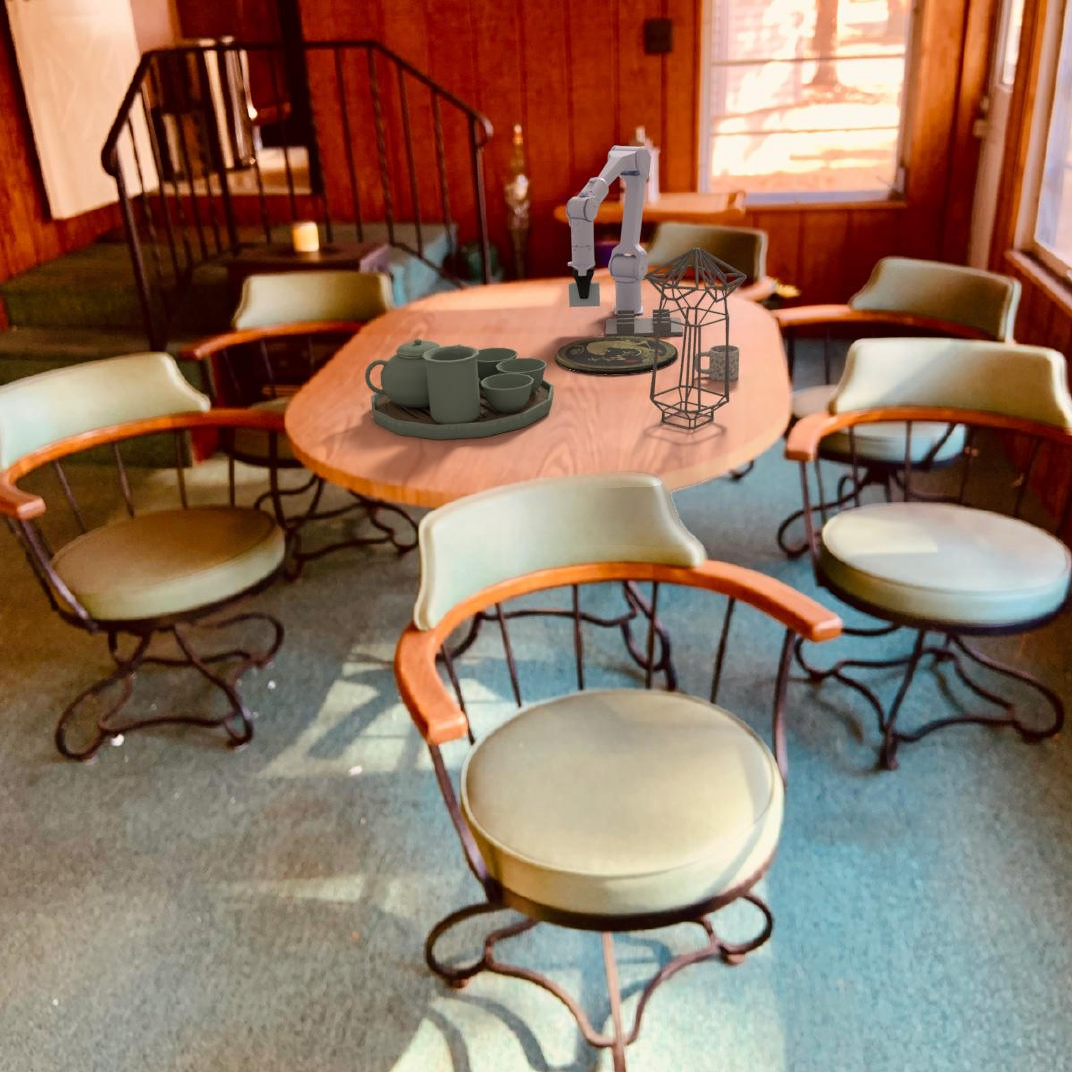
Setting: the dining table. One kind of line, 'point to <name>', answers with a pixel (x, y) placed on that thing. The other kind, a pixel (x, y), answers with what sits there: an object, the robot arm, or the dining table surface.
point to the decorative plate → (615, 355)
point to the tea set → (458, 391)
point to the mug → (720, 363)
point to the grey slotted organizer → (642, 325)
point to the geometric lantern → (682, 267)
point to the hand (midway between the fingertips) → (584, 297)
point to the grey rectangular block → (591, 301)
